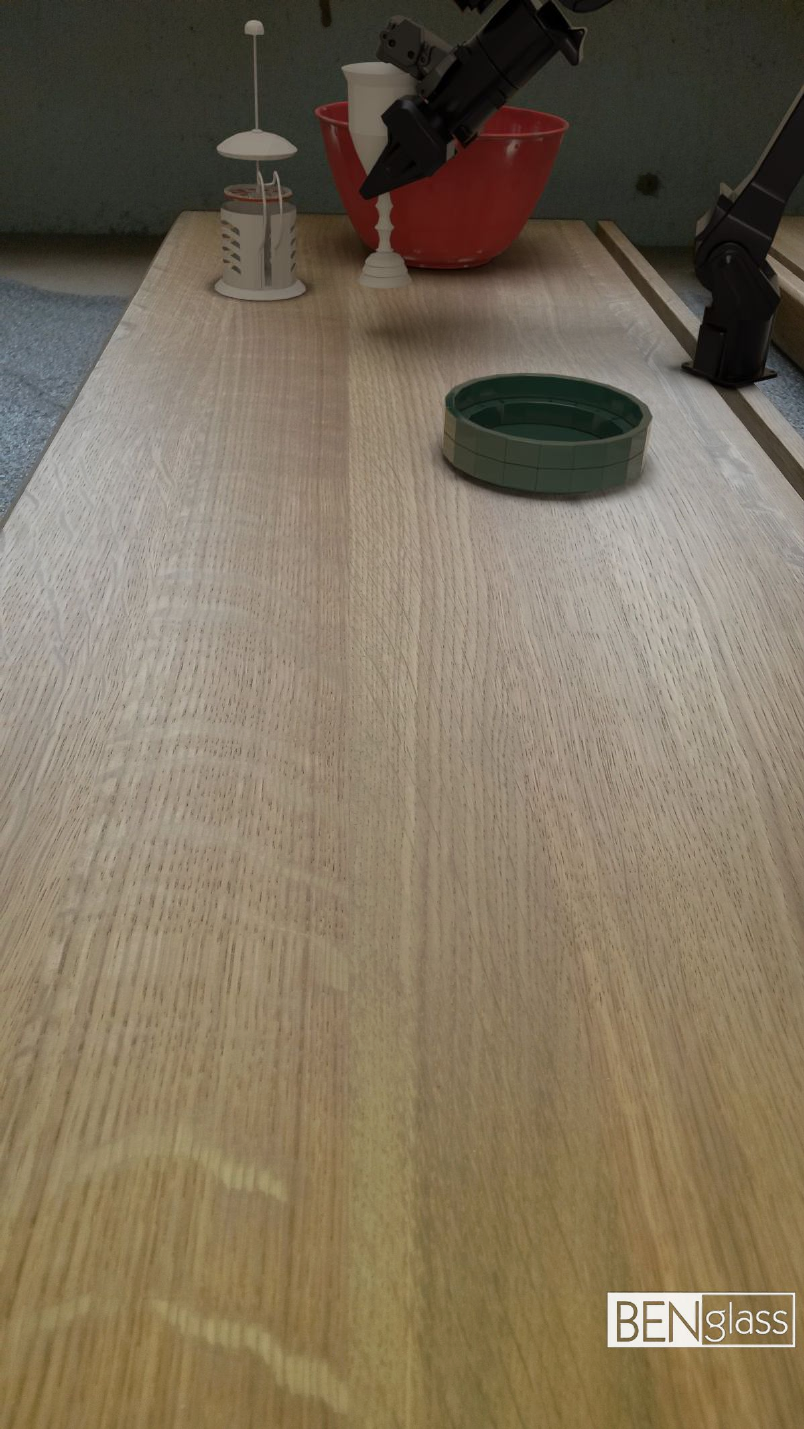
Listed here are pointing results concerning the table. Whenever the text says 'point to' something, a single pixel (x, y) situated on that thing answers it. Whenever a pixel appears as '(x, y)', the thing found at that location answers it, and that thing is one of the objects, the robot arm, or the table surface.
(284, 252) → the french press
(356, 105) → the chalice
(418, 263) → the mixing bowl
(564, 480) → the dish
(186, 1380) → the table surface
